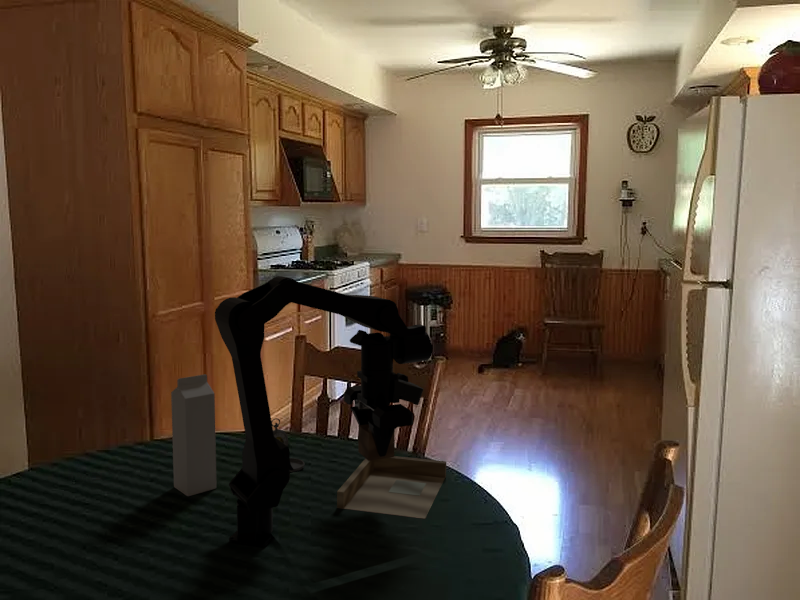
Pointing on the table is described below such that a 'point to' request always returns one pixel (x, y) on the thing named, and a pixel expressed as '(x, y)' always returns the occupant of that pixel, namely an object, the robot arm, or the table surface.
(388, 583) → the table surface
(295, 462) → the pocket watch
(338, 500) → the board
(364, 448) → the walnut block
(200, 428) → the milk
